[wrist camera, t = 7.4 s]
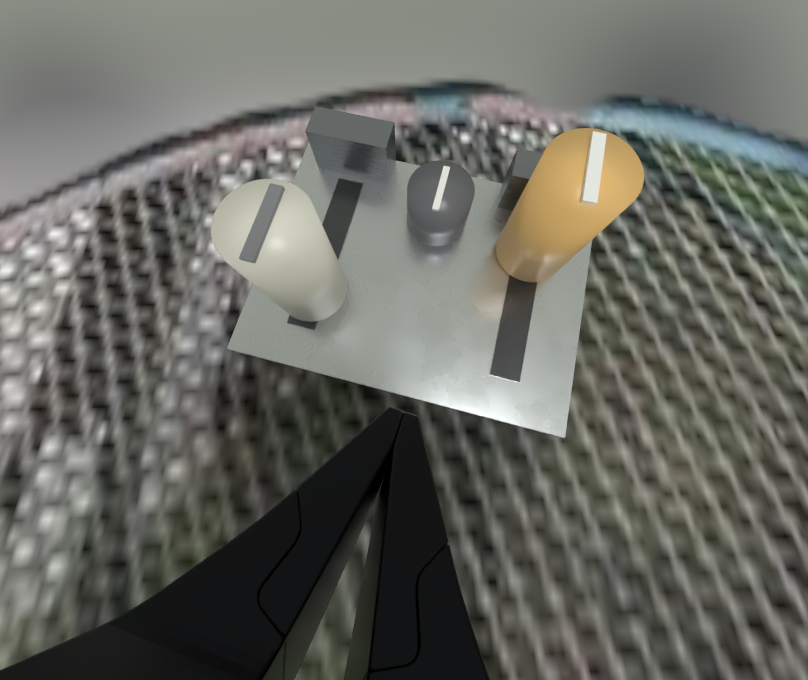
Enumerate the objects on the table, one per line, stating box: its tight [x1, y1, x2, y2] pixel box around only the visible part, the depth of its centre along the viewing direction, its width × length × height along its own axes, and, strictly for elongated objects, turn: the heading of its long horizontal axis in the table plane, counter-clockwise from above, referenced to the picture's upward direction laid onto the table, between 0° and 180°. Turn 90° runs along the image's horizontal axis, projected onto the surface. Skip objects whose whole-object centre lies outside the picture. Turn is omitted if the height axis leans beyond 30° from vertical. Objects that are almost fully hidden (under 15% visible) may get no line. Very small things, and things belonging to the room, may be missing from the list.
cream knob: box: [211, 179, 347, 322], centre depth 16 cm, size 4×4×7 cm
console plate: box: [227, 106, 592, 438], centre depth 19 cm, size 16×21×4 cm
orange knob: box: [496, 128, 644, 282], centre depth 17 cm, size 4×4×7 cm
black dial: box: [407, 161, 475, 246], centre depth 20 cm, size 4×4×3 cm
